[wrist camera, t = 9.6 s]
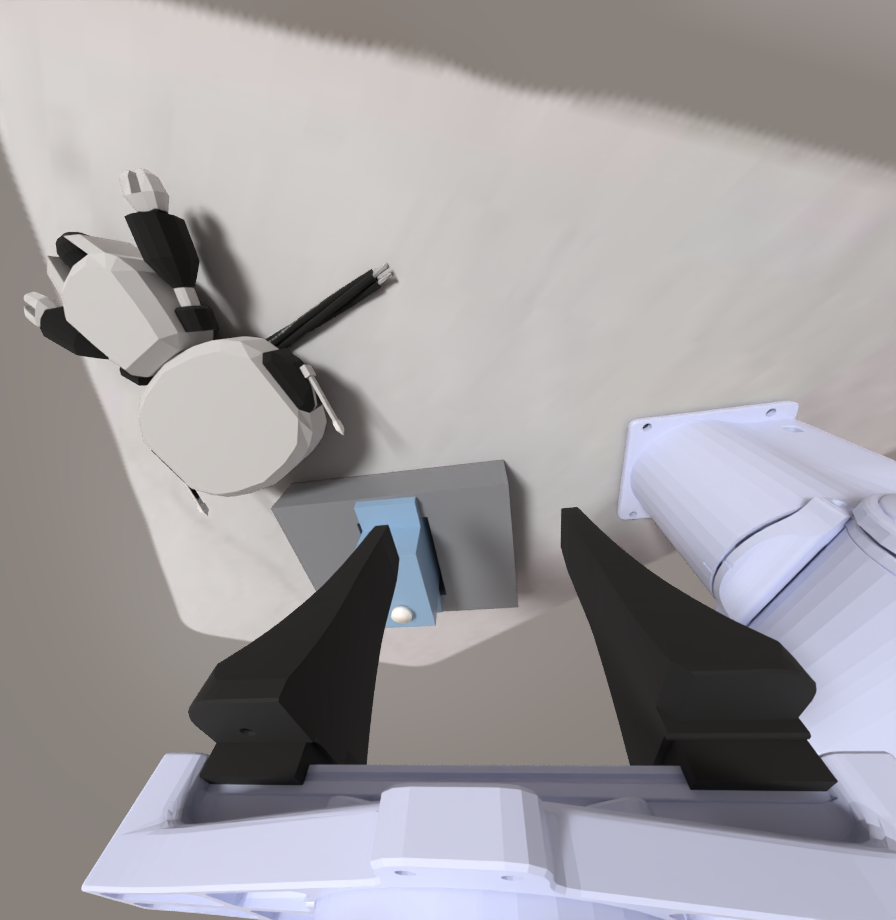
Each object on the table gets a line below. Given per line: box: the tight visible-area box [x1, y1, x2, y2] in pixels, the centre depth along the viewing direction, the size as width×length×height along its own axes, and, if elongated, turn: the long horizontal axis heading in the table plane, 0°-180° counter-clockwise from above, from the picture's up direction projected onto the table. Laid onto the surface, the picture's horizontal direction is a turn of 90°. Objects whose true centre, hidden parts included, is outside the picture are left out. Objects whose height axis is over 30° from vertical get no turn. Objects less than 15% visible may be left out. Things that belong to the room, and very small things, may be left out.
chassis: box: [271, 460, 518, 611], centre depth 25 cm, size 16×12×3 cm
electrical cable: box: [265, 263, 392, 349], centre depth 18 cm, size 12×1×1 cm, turn 118°
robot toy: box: [24, 168, 344, 516], centre depth 18 cm, size 12×4×15 cm
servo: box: [354, 497, 443, 628], centre depth 23 cm, size 4×11×6 cm, turn 9°
